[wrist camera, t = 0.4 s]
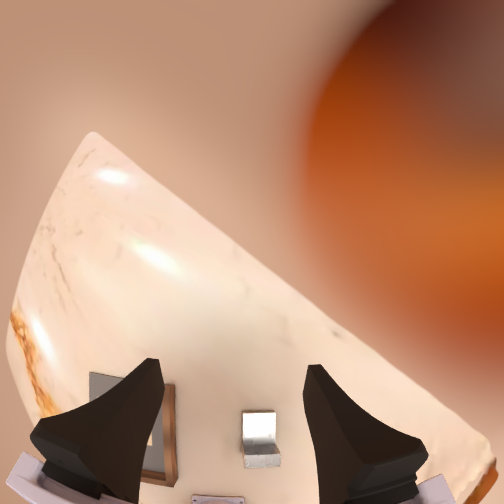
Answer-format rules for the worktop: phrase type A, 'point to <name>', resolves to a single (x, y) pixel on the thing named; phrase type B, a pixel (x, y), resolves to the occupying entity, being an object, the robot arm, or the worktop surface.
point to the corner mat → (155, 443)
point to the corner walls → (166, 444)
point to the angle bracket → (260, 440)
